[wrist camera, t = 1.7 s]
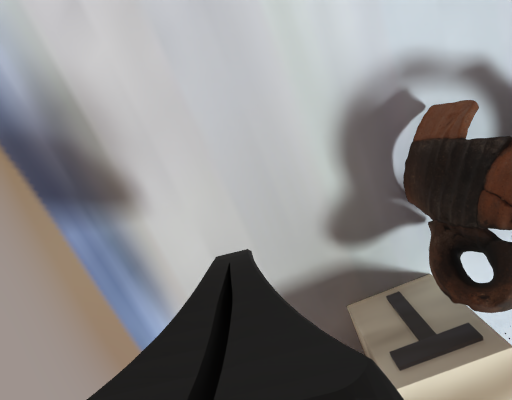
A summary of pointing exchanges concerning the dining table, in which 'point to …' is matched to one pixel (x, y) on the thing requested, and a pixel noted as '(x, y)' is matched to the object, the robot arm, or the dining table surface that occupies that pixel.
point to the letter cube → (433, 344)
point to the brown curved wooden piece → (463, 202)
